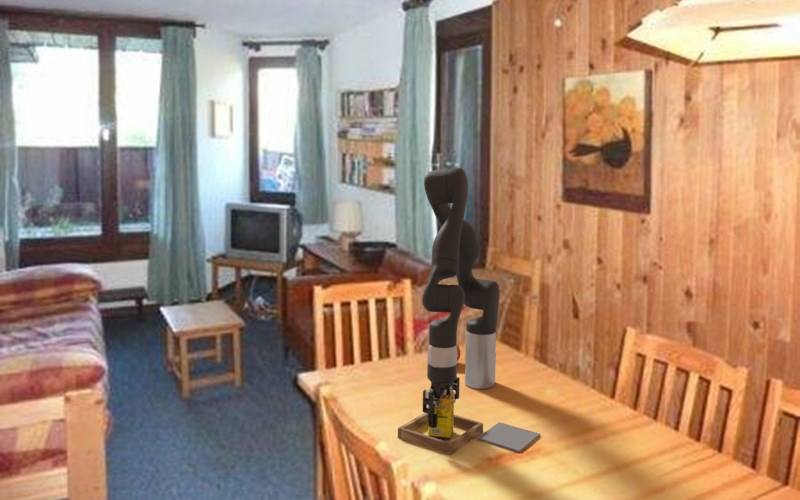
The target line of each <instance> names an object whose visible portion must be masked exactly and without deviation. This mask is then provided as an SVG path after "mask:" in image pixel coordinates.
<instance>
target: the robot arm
mask: <svg viewBox="0 0 800 500" xmlns="http://www.w3.org/2000/svg"><path fill="white" fill-rule="evenodd" d="M424 175H425V176H424V179H423V186H424V187H423V188H424V192H425V195H426V198H427V200H428V203H429V206H430V207H431V209H432V212H433V213H434V216H435V217H436V220H437V222H438V225H439V227H440V229H439V231H437V233H436V236H435V238H434V240H433V242H432V243H433V244H432V246H431V247H432V248H431V265H430V273H429V276H428V280H427V282H426V285H425V288H424V290H423V292H422V297H421V298H422V299H421V302H422V306H423V307H424V309H425V310H426V311H427V312H429V313H449V315H448V316H447V317H444V318H441V319H435V320H433V321H431V322H430V324H429V327H428V348H427V349H428V350H427V368H426V369H427V370H426V377H427V379H428V381H429V382H430V383H431V384H430V387H429V389H424V390H423V391H422V412H423V413H428V422H427V426H429V427H432V428H436V427H437V411H438V408H439V406H441V404H442V399H443V398H444V396H446V395H448V394H453V393H454V404H455V403H456V401H457V400H459V399H460V382H461V381H460V377H458V376H457V374H458V361H457V345H458V344H457V341H458V340H457V337H458V336H457V335H458V333H457V332H458V325H459V319H460V316H461V313H462V311H463V308H464V305H465V307H467V308H469V309H474V310H475V309H476V310H480V311H482V316H479V317H474V318H473V317H472V318H471V319H469V320H467V322H466V325H465V326H466V327H465V331H466V332H465V357H464V358H465V361H464V362H465V363H464V364H465V365H464V385H466V387H468V388H471V389H477V390H479V389H480V390H484V389H490V388H492V387H494V386H495V382H496V366H497V365H496V362H497V353H496V347H497V346H496V345H497V343H496V342H497V325H498V320H499V319H498V318H499V305H500V290H501V289H500V286H499V283H497V281H494V280H488V279H481V278H476V277H475V276H474V273H473V269H474V266H475V265H476V263H477V261H478V260H479V258H480V254H481V245H480V242H479V239H478V235H477V233H476V230H475V229H474V227H473V226H472V225H471V224H470V223H469V222H468V221H467V220H466V219H465V214H466V207H467V204H468V203H467V201H468V195H469V194H468V193H469V182H468V181H469V180H468V177H467V176H468V175H467V173H466V171H465V170H464V169H463V168H461V167H452V168H443V169H442V168H441V169H435V170H430V171H428V172H426V174H424ZM449 204H452V205H451V207H450V205H449ZM454 277H456V281H457V284H441V283H440V282H441V281H443V280H447V279H451V278H454ZM456 344H457V345H456ZM454 391H455V392H454ZM434 398H437V399H439V400H438V401H437V402H436V401H433V400H434ZM433 404H434V405H435V407H434V409H433Z"/></svg>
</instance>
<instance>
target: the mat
mask: <svg viewBox="0 0 800 500" xmlns="http://www.w3.org/2000/svg"><path fill="white" fill-rule="evenodd" d="M539 437H541V433H538V432H535V431H532V430H528V429H526V428H523V427H517V426H515V425H511V424H507V423H504V422H500V421H499V422H497V423H496V424H494V425H493V426H491V427H490V428H489V429H488V430H486V431H483V432H482V433H481V434H480V435H478V436H477V437H476V440H477V441H479V442H481V443H486V444H488V445H489V444H490V445H492V446H495V447H499V448H502V449H506V450H509V451H512V452H515V453H518V454H519V453H521V452H523V451H524V450H525V449H526V448H527V447H529V446H530V445H531V444H532V443H533V442H535V441H536V440H537V439H538V438H539Z"/></svg>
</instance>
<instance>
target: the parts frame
mask: <svg viewBox="0 0 800 500" xmlns="http://www.w3.org/2000/svg"><path fill="white" fill-rule="evenodd" d="M426 424H428V413H424V412H423V413H422V414H420V415H418V416H417V417H415V418H413V419H411V420H410V421H408V422H406V423H404V424H403V425H401V426H399V427H397V438H398V439H401V440H405V441H408V442H410V443H411V442H412V443H414V444H417V445H420V446H423V447H426V448H430V449H432V450H435V451H438V452H441V453H444V454H446V455H447V454H448V455H452V454H454V453H455V452H457V451H458V450H460V449H461V448H463V447H464V446H466V445H467V444H468V443H470V442H471V441H472V440H474V439H475V438H477V437H479V436H480V435H481V434H483V433H484V422H481V421H477V420H474V419H471V418H467V417H464V416H459V415H456V414H454V422H453V427H454V426H455V427H458V428H461V429H465V430H466V431H465V432H463V433H461V434H460V435H459V436H458V437H456V438H455V439H453V440H450V442H449V441H447V440H442V439H437V438H434V437H430V436H428V434H427V435H426V434H424V433H422V432H421V433H420V432H417V431H415V430H418V429H420V428H421V427H422V426H424V425H426Z"/></svg>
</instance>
